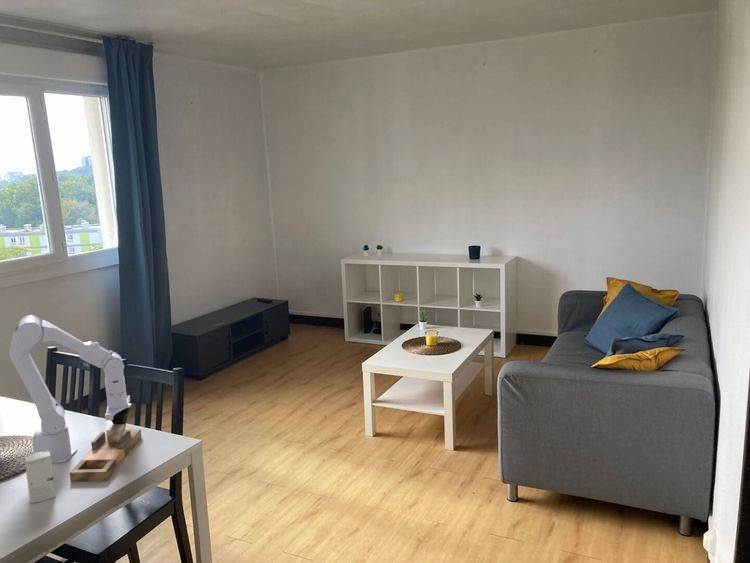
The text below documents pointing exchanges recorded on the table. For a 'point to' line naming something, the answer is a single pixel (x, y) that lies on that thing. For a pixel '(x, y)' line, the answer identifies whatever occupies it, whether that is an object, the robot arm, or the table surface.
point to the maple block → (115, 432)
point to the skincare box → (39, 476)
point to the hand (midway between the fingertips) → (120, 431)
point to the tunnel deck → (104, 457)
